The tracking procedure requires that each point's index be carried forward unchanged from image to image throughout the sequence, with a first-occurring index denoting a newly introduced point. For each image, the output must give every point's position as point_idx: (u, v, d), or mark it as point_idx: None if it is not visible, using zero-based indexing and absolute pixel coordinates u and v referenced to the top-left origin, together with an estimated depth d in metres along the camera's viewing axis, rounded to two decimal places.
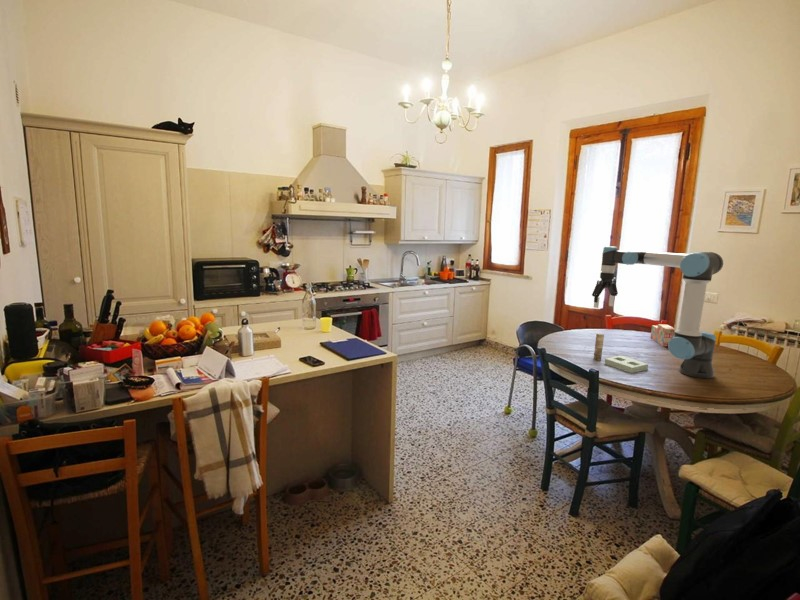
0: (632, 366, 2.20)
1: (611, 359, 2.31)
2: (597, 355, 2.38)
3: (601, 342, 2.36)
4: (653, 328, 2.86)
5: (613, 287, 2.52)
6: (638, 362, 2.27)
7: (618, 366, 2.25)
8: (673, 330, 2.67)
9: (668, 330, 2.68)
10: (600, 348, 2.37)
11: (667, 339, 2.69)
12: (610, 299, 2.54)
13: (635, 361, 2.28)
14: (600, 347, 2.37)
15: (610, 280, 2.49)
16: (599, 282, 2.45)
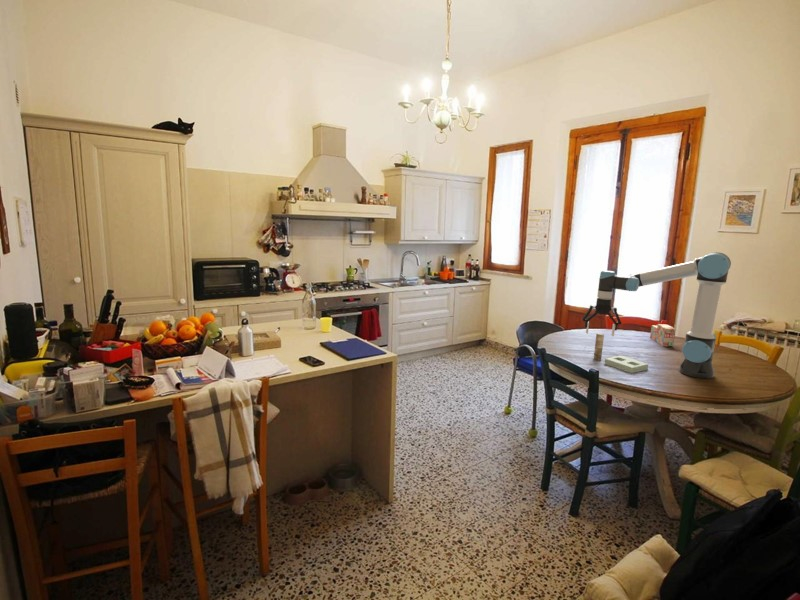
0: (632, 366, 2.20)
1: (611, 359, 2.31)
2: (597, 355, 2.38)
3: (601, 342, 2.36)
4: (653, 328, 2.86)
5: (615, 315, 2.33)
6: (638, 362, 2.27)
7: (618, 366, 2.25)
8: (673, 330, 2.67)
9: (668, 330, 2.68)
10: (600, 348, 2.37)
11: (667, 339, 2.69)
12: (612, 328, 2.35)
13: (635, 361, 2.28)
14: (600, 347, 2.37)
15: (607, 307, 2.33)
16: (590, 307, 2.36)
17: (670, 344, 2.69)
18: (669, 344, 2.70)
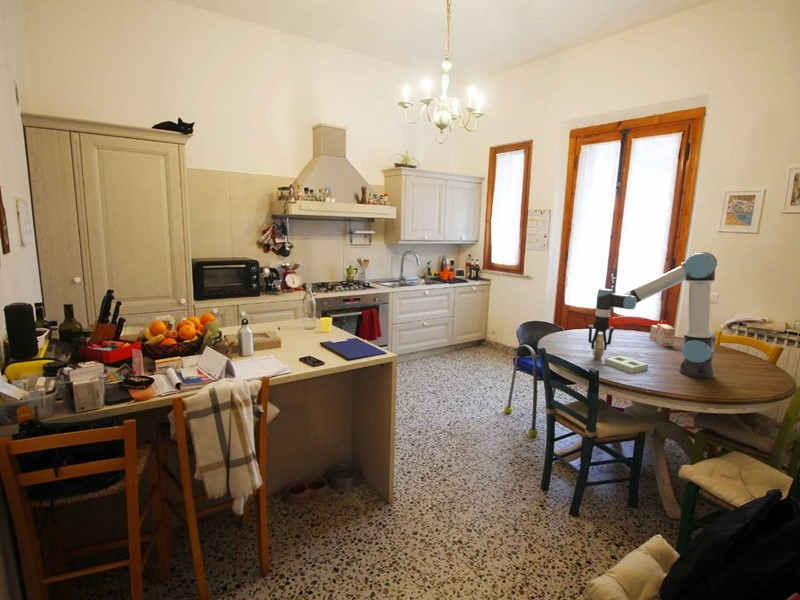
0: (632, 366, 2.20)
1: (611, 359, 2.31)
2: (597, 355, 2.38)
3: (601, 342, 2.36)
4: (652, 328, 2.87)
5: (609, 335, 2.36)
6: (638, 362, 2.27)
7: (618, 366, 2.25)
8: (673, 330, 2.68)
9: (668, 330, 2.68)
10: (600, 348, 2.37)
11: (667, 339, 2.69)
12: (602, 348, 2.39)
13: (635, 361, 2.28)
14: (600, 347, 2.37)
15: (606, 324, 2.34)
16: (589, 327, 2.38)
17: (670, 344, 2.70)
18: (669, 344, 2.70)
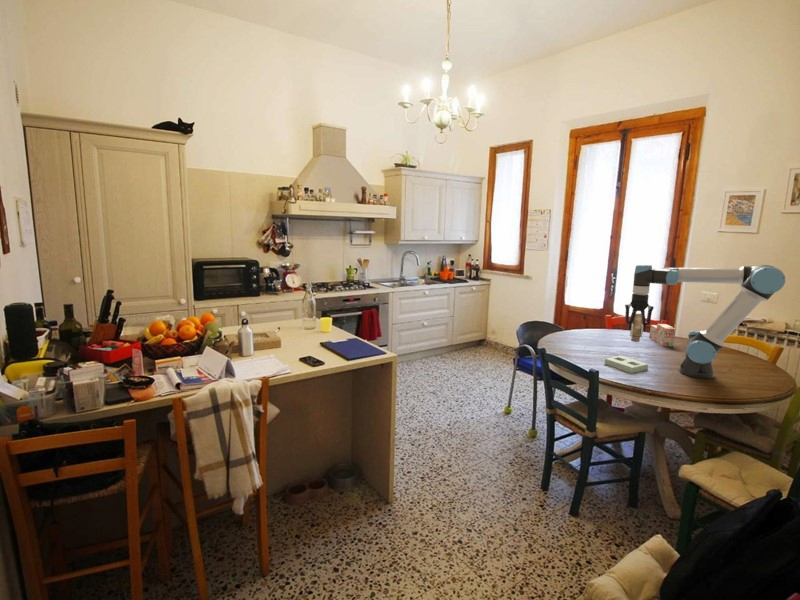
0: (632, 366, 2.20)
1: (611, 359, 2.31)
2: (635, 336, 2.21)
3: (639, 322, 2.19)
4: (652, 328, 2.87)
5: (648, 314, 2.19)
6: (638, 362, 2.27)
7: (618, 366, 2.25)
8: (673, 330, 2.68)
9: (668, 330, 2.69)
10: (638, 329, 2.20)
11: (667, 339, 2.70)
12: None
13: (635, 361, 2.28)
14: (638, 327, 2.20)
15: (645, 302, 2.17)
16: (625, 307, 2.21)
17: (670, 344, 2.70)
18: (669, 344, 2.70)
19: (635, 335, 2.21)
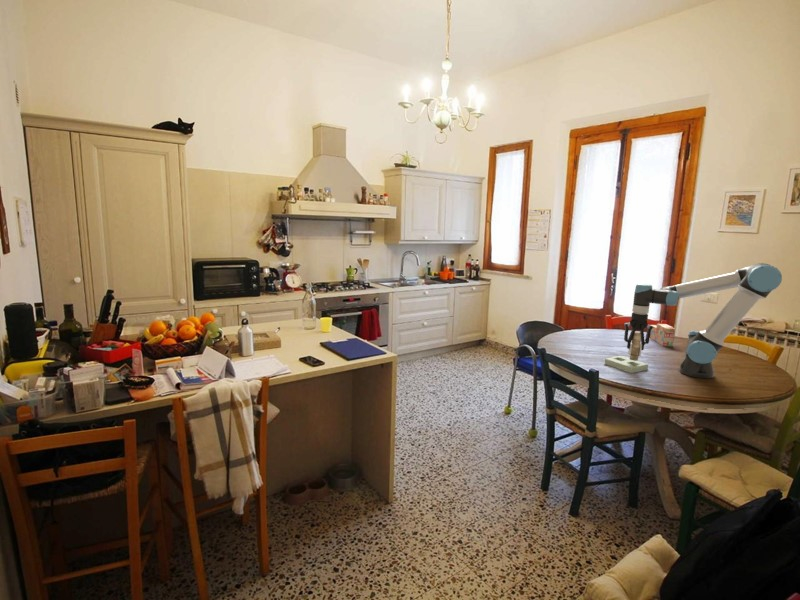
0: (632, 366, 2.20)
1: (611, 359, 2.31)
2: (634, 355, 2.22)
3: (638, 341, 2.21)
4: (652, 328, 2.87)
5: (647, 333, 2.20)
6: (638, 362, 2.27)
7: (618, 366, 2.25)
8: (673, 330, 2.68)
9: (668, 330, 2.69)
10: (637, 347, 2.21)
11: (667, 339, 2.70)
12: None
13: (635, 361, 2.28)
14: (637, 346, 2.21)
15: (644, 322, 2.19)
16: (625, 325, 2.22)
17: (670, 344, 2.70)
18: (669, 344, 2.70)
19: (634, 354, 2.22)
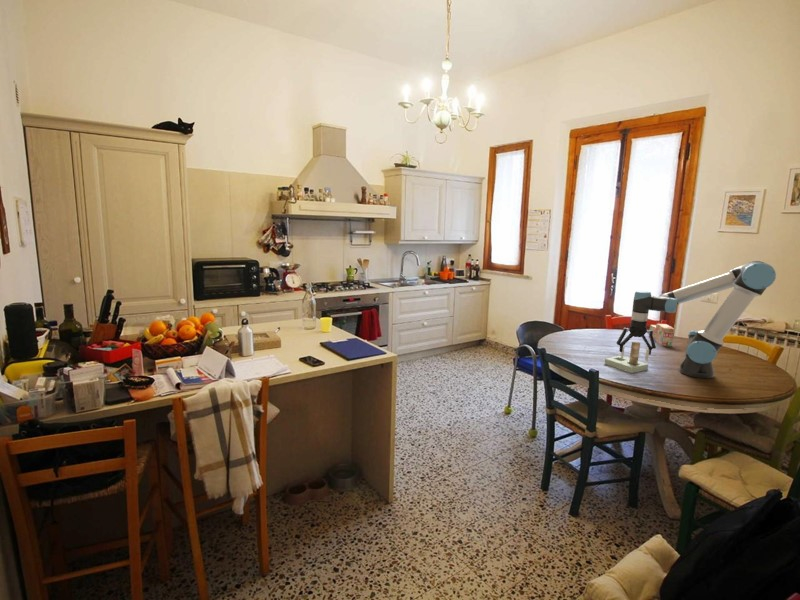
0: (632, 366, 2.20)
1: (611, 359, 2.31)
2: (633, 364, 2.23)
3: (637, 350, 2.21)
4: (651, 328, 2.87)
5: (650, 339, 2.20)
6: (638, 362, 2.27)
7: (618, 366, 2.25)
8: (672, 329, 2.68)
9: (667, 330, 2.69)
10: (636, 357, 2.22)
11: (666, 339, 2.70)
12: (646, 353, 2.22)
13: None
14: (636, 356, 2.22)
15: (643, 329, 2.19)
16: (623, 330, 2.23)
17: (669, 344, 2.70)
18: (668, 344, 2.71)
19: (633, 363, 2.23)
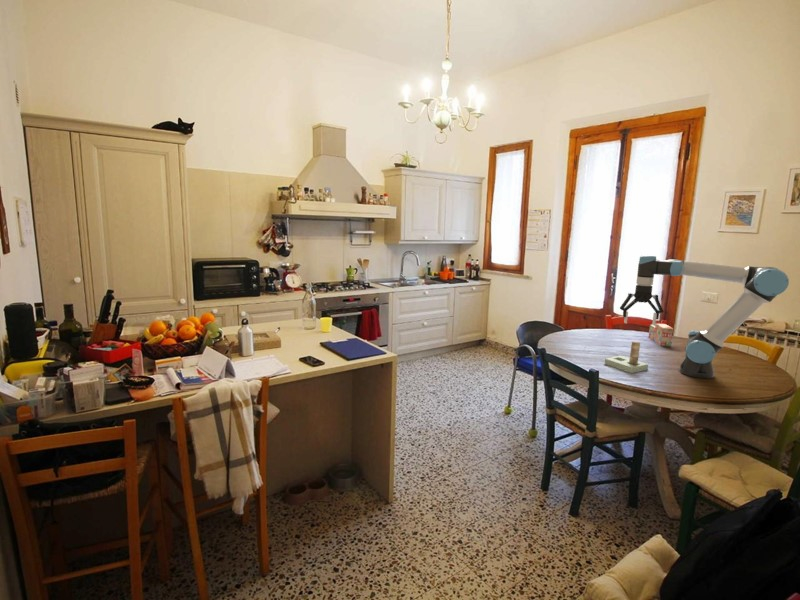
0: (632, 366, 2.20)
1: (611, 359, 2.31)
2: (633, 364, 2.23)
3: (637, 350, 2.21)
4: (651, 327, 2.88)
5: (656, 303, 2.17)
6: (638, 362, 2.27)
7: (618, 366, 2.25)
8: (671, 329, 2.69)
9: (666, 329, 2.69)
10: (636, 357, 2.22)
11: (665, 339, 2.71)
12: (653, 317, 2.19)
13: None
14: (636, 356, 2.22)
15: (648, 294, 2.17)
16: (628, 295, 2.20)
17: (668, 343, 2.71)
18: (667, 343, 2.71)
19: (632, 363, 2.23)
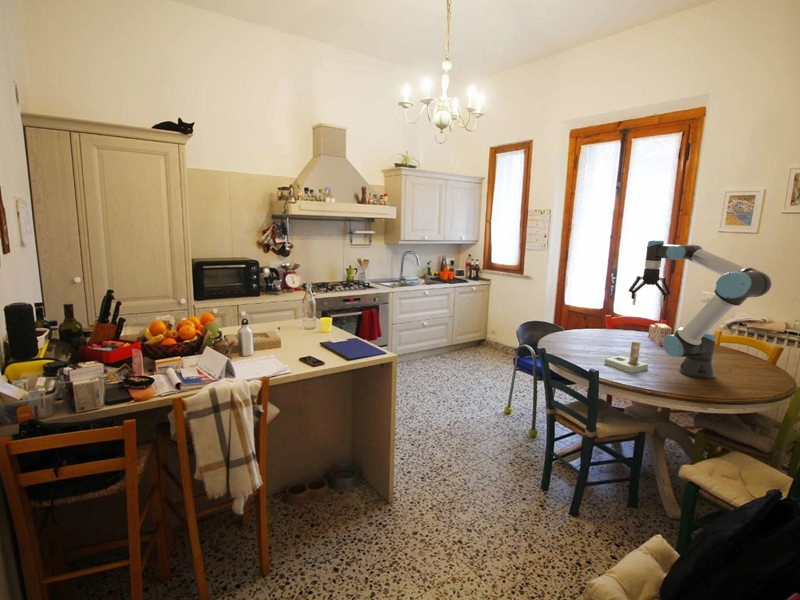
0: (632, 366, 2.20)
1: (611, 359, 2.31)
2: (633, 364, 2.23)
3: (637, 350, 2.21)
4: (650, 327, 2.88)
5: (664, 286, 2.29)
6: (638, 362, 2.27)
7: (618, 366, 2.25)
8: (669, 329, 2.69)
9: (664, 329, 2.70)
10: (636, 357, 2.22)
11: (663, 338, 2.71)
12: (660, 299, 2.31)
13: None
14: (636, 356, 2.22)
15: (655, 277, 2.28)
16: (637, 277, 2.32)
17: None
18: None
19: (632, 363, 2.23)
